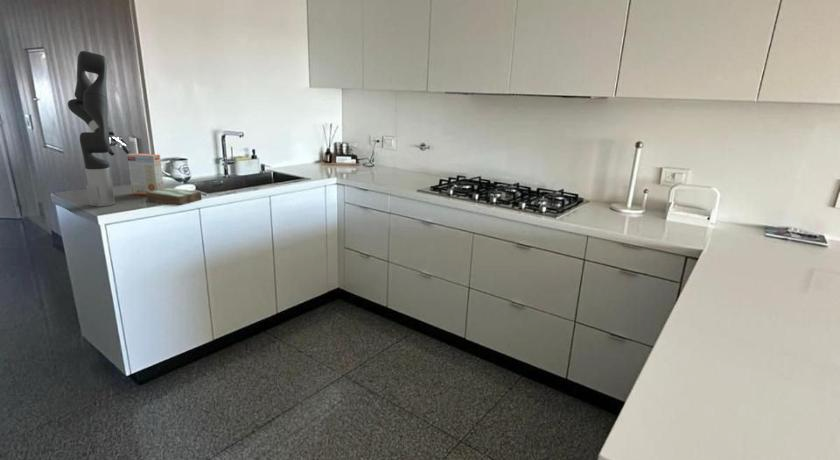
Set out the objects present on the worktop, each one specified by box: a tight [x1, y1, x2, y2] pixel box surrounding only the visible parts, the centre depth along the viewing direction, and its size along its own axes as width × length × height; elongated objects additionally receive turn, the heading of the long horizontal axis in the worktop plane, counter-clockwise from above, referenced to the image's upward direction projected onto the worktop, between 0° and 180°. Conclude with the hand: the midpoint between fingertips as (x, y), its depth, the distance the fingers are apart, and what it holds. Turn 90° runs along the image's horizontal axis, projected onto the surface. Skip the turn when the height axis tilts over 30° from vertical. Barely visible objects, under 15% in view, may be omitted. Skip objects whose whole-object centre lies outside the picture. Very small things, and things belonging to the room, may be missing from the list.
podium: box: [146, 187, 202, 206], centre depth 227 cm, size 14×20×4 cm
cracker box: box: [127, 153, 165, 196], centre depth 233 cm, size 14×6×21 cm, turn 84°
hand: (121, 153), depth 235 cm, fingers open, 8 cm apart
